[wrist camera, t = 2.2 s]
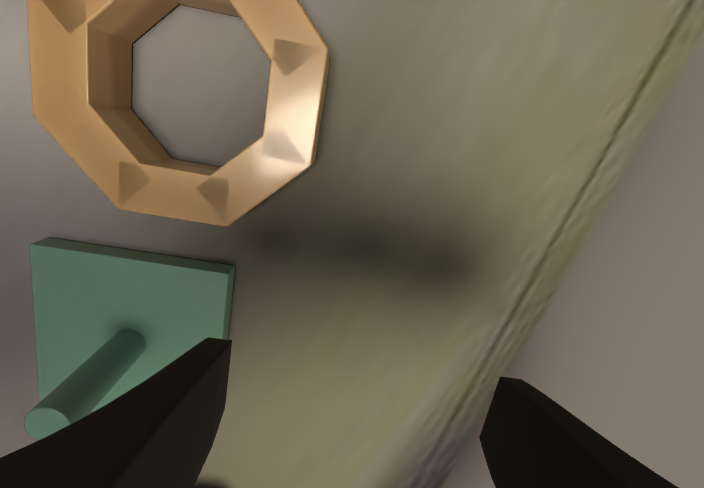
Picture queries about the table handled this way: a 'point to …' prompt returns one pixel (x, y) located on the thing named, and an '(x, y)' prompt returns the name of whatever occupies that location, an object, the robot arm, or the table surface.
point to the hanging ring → (131, 134)
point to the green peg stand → (114, 322)
